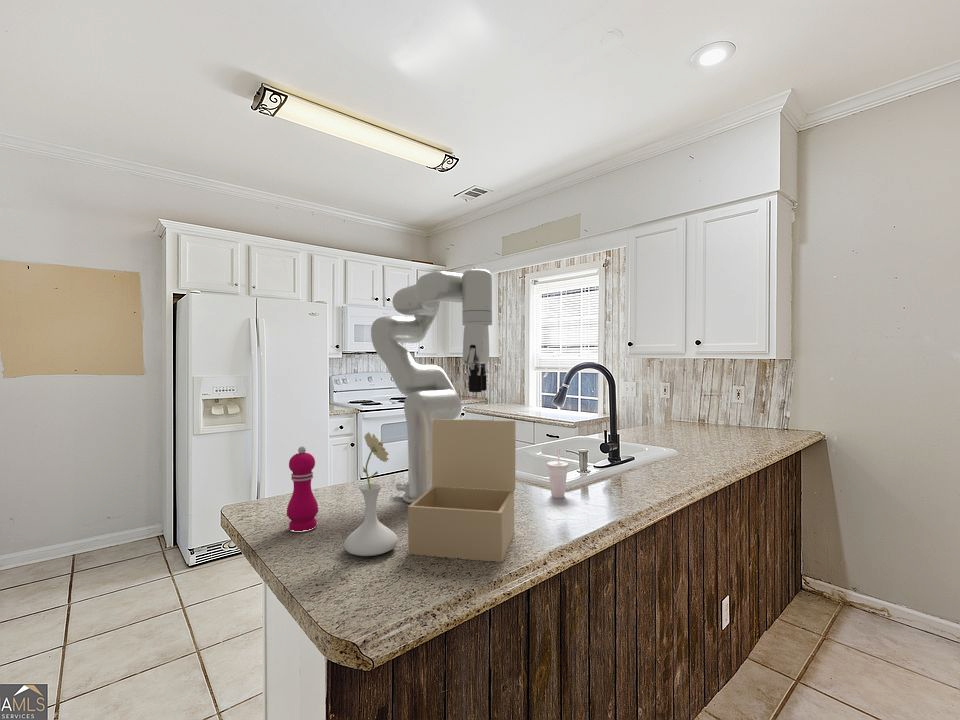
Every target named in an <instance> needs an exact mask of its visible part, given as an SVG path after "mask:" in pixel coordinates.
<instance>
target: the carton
mask: <svg viewBox="0 0 960 720" xmlns="http://www.w3.org/2000/svg"><path fill="white" fill-rule="evenodd" d="M407 526H408V527H407V537H408V538H407V540H408V541H407V542H408V544H407V545H408V552H407V553H408V555H412V554H414V555H413V556H423V555H425V556H426V557H434V556H436V557H437V558H445V557H447V559H457V558H459V559H460V558H461V559H460V560H468V559H469V560H470V561H479V560H480V561H481V560H482V562H490V561H496V562H495V563H501V562H502V561H504V560H505V557H506V555H507V552H508V550H509V548H510V545H511V543H512V540H513V538H514V536H515V491H512V490H494V489H475V488H457V487H436V486H432V487H431V488H430V489H429V490H428V491H426V492H425V493H424V494H423V495H421V496H420V497H419V498H418V499H417V500H415V501H414V502H413V503H412V504H411V503H410V504H409V505H408V506H407ZM508 547H509V548H508ZM505 554H506V555H505ZM459 559H458V560H459ZM502 563H503V562H502Z"/></svg>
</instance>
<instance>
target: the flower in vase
mask: <svg viewBox="0 0 960 720" xmlns="http://www.w3.org/2000/svg"><path fill="white" fill-rule="evenodd" d="M363 437H364V440H365V443H366V445H367V447H368V448H369V449H370V452H369V454H368V458H367V459H366V464H365V467H364V466H362V469H363V471H362V472H363V473H365V475H366V480H367V483H364V484H360V485H359V486H358V489H359V490H360V492H361V493H362V495H363V498H364V504H365V505H364V506H365V517H364V520H363V522H362V523H361V524H360V525H359V526H358V527H357V528H355V530H353V532H351V533H350V534H349V535H348V536H347V538H346V539H345V541H344V543H343V547H344V549H345V551H346V552H347V553H348V554H351V555H355V556H358V557H359V556H360V557H373V556H379V555H382V554H385V553H388V552H390V551H392V550H393V549H394V548H396V546H397V544H398V543H399V538H398V536H397V534H396V533H395V532H394V531H393V530H392V529H390V528H388V527H387V526H386V525H385V524H383V523H382V522H380V521H379V519H378V517H377V504H378V503H377V501H378V496H379V493H380V491H381V489H382V488H383V484H381V483H376V482H375V483H373V482H372V483H371V481H370V479H372V478H373V477H375V476H376V475H378V474H379V472H378V471H375V472H374V473H373V474H372V475H369V473H368V464H369V461H370V459H371V457H372V454H373V455H374V456H376V458H377V459H379V461H381V462H384V463H386V462H387V461H389V457H388V456H389V452H387V450H386V448H385V447H384V443H383V442H382V441H379V438H377V436H376V435H375V433H372V434H371V433H370V432H369V431H368V432H367V433H365V434H364V436H363Z"/></svg>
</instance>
